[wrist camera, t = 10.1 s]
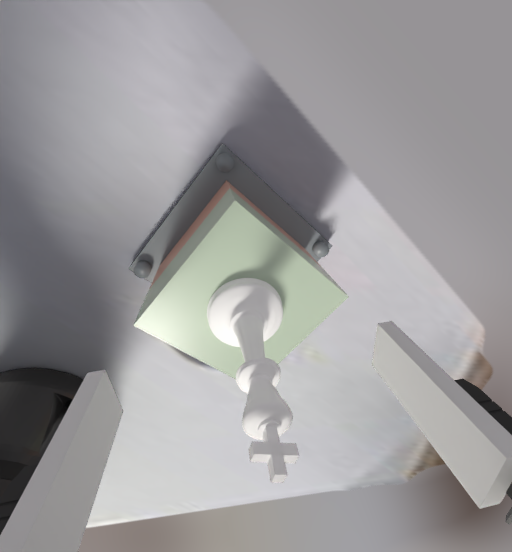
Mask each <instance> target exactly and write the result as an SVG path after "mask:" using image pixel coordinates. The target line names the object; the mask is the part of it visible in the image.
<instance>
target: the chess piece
mask: <svg viewBox="0 0 512 552" xmlns="http://www.w3.org/2000/svg"><path fill="white" fill-rule="evenodd" d="M282 318H283V307H282V301H281V298H280V296H279V294H278V292H277V291H276V290H275V289H274V288H273V287H272V286H271V285H270V284H268V283H267V282H265V281H262V280H259V279H255V278H240V279H235V280H232V281H230V282H227V283H226V284H224V285H222V286H221V287H220V288H219V289H217V290H216V291H215V293H214V294H213V295H212V297H211V298H210V301H209V303H208V306H207V319H208V323H209V326H210V329H211V331H212V332H213V334H214V335H215V336H216V337H217V338H218V339H219V340H220V341H222V342H224V343H226V344H228V345H231V346H235V347H240V348H241V351H242V354H243V357H244V361H245V363H243V364H242V365H241V366H240V367H239V369H238V370H237V372H236V382H237V384H238V386H239V388H240V389H241V390H242V391H244V392H245V393H248V395H247V402H246V407H245V409H244V413H243V418H242V427H243V430H244V431H245V433H246V434H247V435H248V436H250V437H252V438H254V439H258V440H264V442H253V441H252V443H251V445H250V447H249V456H250V462H263V463H268V469H269V474H270V480H271V483H283V482H284V480H285V479H286V477H287V475H288V474H287V470H286V466H285V463H296V461H297V459H298V458H299V452H298V449H297V445H296V444H294V443H280V440H279V436H280V435H282V434H283V433H284V432H286V431H287V430H288V428H289V427H290V425H291V423H292V419H293V416H292V412H291V410H290V408H289V406H288V405H287V403H286V402H285V401H284V400H283V399H282V397H281V396H280V395H279V393H278V391H277V390H276V388H275V387H276V386H277V384H278V382H279V380H280V373H281V371H280V367H279V365H278V364H277V363H276V362H275V361H273V360H272V359H269V358H265V352H264V341H266V340H268V339H269V338H270V337H272V336H273V335H274V334H275V332H276V331H277V330H278V328H279V327H280V325H281V322H282Z"/></svg>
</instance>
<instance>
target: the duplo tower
mask: <svg viewBox="0 0 512 552" xmlns="http://www.w3.org/2000/svg"><path fill="white" fill-rule="evenodd" d="M331 247H332V245H331V244H330V243H329V242H328V241H327V240H326V239H325V238H323V237H322V236H321V235H320V234H319V233H318V232H317V231H316V230H315V229H314V228H313V227H312V226H311V225H310V224H308V223H307V222H306V221H305V220H304V219H303V218H302V217H301V216H300V215H299V214H298V213H297V212H296V211H295V210H293V209H292V208H291V207H290V206H289V205H288V204H287V203H286V202H285V201H284V200H283V199H282V198H281V197H279V196H278V195H277V194H276V193H275V192H274V191H273V190H272V189H271V188H270V187H269V186H268V185H267V184H266V183H264V182H263V181H262V180H261V179H260V178H259V177H258V176H257V175H256V174H255V173H254V172H253V171H252V170H251V169H249V168H248V167H247V166H246V165H245V164H244V163H243V162H242V161H241V160H240V159H239V158H238V157H237V156H236V155H234V154H233V153H232V152H231V151H230V150H229V149H228V148H227V147H226V146H225V145H224V144H223V143H222V144H221V146H220V147H219V148H218V150H217V151H216V152H215V154H214V155H213V156H212V158H211V159H210V160H209V162H208V163H207V164H206V166H205V167H204V168H203V170H202V171H201V172H200V174H199V175H198V176H197V178H196V179H195V180H194V182H193V183H192V184H191V186H190V187H189V188H188V190H187V191H186V192H185V194H184V195H183V196H182V198H181V199H180V200H179V202H178V203H177V204H176V206H175V207H174V208H173V210H172V211H171V212H170V214H169V215H168V216H167V218H166V219H165V220H164V222H163V223H162V224H161V226H160V227H159V228H158V230H157V231H156V232H155V234H154V235H153V236H152V238H151V239H150V240H149V242H148V243H147V244H146V246H145V247H144V248H143V250H142V251H141V252H140V254H139V255H138V256H137V258H136V259H135V260H134V262H133V263H132V264H131V266H130V267H129V270H131V271H133V272H134V273H135V275H136V276H137V277H139V278H144V279H146V280H147V281H149V282H151V283H152V284H151V286H150V289H149V291H148V293H147V295H146V298H145V300H144V302H143V305H142V307H141V309H140V312H139V314H138V316H137V318H136V321H135V323H134V325H133V326H135V327H137V328H139V329H141V330H143V331H145V332H146V333H148V334H150V335H152V336H154V337H156V338H158V339H160V340H162V341H164V342H166V343H167V344H169V345H171V346H173V347H175V348H177V349H179V350H181V351H183V352H185V353H187V354H188V355H190V356H192V357H194V358H196V359H198V360H200V361H202V362H204V363H206V364H208V365H209V366H211V367H213V368H215V369H217V370H219V371H221V372H223V373H225V374H227V375H229V376H230V377H232V378H234V379H236V372H237V370H238V369H239V367H240V366H241V365H242V364H243V363H245V361H244V357H243V354H242V351H241V348H240V347H235V346H231V345H228V344H226V343H224V342H222V341H220V340H219V339H218V338H217V337H216V336H215V335H214V334H213V332H212V331H211V329H210V326H209V323H208V319H207V306H208V303H209V301H210V298H211V297H212V295H213V294H214V293H215V291H216V290H217V289H219V288H220V287H221V286H222V285H224V284H226V283H227V282H230V281H232V280H235V279H240V278H255V279H259V280H262V281H265V282H267V283H268V284H270V285H271V286H272V287H273V288H274V289H275V290H276V291H277V292H278V294H279V296H280V298H281V301H282V307H283V318H282V322H281V325H280V327H279V328H278V330H277V331H276V332H275V334H274V335H273V336H272V337H270V338H269V339H268V340H266V341H264V352H265V358H269V359H272V360H273V361H275V362H276V363H277V364H279V363H280V362H281V361H282V360H283V359H284V358H285V357H286V356H287V355H288V354H289V353H290V352H291V351H292V350H293V349H294V348H295V347H297V346H298V345H299V344H300V343H301V342H302V341H303V340H304V339H305V338H306V337H307V336H308V335H309V334H310V333H311V332H312V331H313V330H314V329H315V328H316V327H318V326H319V325H320V324H321V323H322V322H323V321H324V320H325V319H326V318H327V317H328V316H329V315H330V314H331V313H332V312H333V311H334V310H335V309H336V308H337V307H339V306H340V305H341V304H342V303H343V302H344V301H345V300H346V299H347V298H348V296H347V294H346V293H345V292H344V291H343V290H342V289H341V288H340V287H339V286H338V285H337V283H336V282H335V281H334V280H333V279H332V278H331V277H330V276H329V275H328V274H327V272H326V271H325V270H324V269H323V268H322V267H321V266H320V265H319V264H318V263H317V261H318V260H319V259H320V258H321V257H324V256H326V255H327V254H328V252H329V249H330V248H331Z"/></svg>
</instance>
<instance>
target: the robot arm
mask: <svg viewBox="0 0 512 552" xmlns="http://www.w3.org/2000/svg"><path fill="white" fill-rule="evenodd" d="M372 366H373V367H374V369H375V370H376V371H377V373H378V374H379V375H380V377H381V378H382V379H383V381H384V382H385V383H386V385H387V386H388V387H389V389H390V390H391V391H392V393H393V394H394V395H395V397H396V398H397V399H398V401H399V402H400V403H401V405H402V406H403V407H404V409H405V410H406V411H407V413H408V414H409V415H410V417H411V418H412V419H413V421H414V422H415V423H416V425H417V426H418V427H419V429H420V430H421V431H422V433H423V434H424V435H425V437H426V438H427V439H428V441H429V442H430V443H431V445H432V446H433V447H434V449H435V450H436V451H437V453H438V454H439V455H440V457H441V458H442V459H443V461H444V462H445V463H446V465H447V466H448V467H449V469H450V470H451V471H452V472H453V474H454V475H455V477H456V478H457V479H458V480H459V482H460V483H461V485H462V486H463V487H464V489H465V490H466V491H467V493H468V494H469V495H470V497H471V498H472V499H473V500H474V502H475V503H476V504H477V506H478V507H479V508H484V507H487V506H492V505H496V504H499V503H501V501H502V500H503V498H504V496H505V494H506V493H507V494H508V496H509V497H510V498H511V499H512V417H511V416H509V415H508V414H507V413H506V412H505V411H503V410H502V408H501V407H499V406H498V405H497V404H496V403H495V402H492V400H491V399H490V398H489V397H488V396H487V395H486V394H485V393H484V392H483V391H482V390H480V389H479V388H478V387H476V386H475V385H473V384H471V383H469V382H468V381H466V380H464V379H459V380H453V379H452V378H451V377H450V376H449V375H448V374H447V373H446V372H445V371H444V370H443V369H442V368H440V367H439V366H438V365H437V364H436V363H435V362H434V361H433V360H432V359H431V358H430V357H429V356H428V355H427V354H426V353H425V352H424V351H423V350H422V349H420V348H419V347H418V346H417V345H416V344H415V343H414V342H413V341H412V340H411V339H410V338H409V337H408V336H407V335H406V334H405V333H404V332H403V331H402V330H400V329H399V328H398V327H397V326H396V325H395V324H394V323H393V322H392V321H390V322H384V323H378V324H377V331H376V338H375V345H374V352H373V359H372ZM122 413H123V409H122V407H121V405H120V402H119V400H118V398H117V395H116V393H115V391H114V388H113V386H112V384H111V382H110V379H109V377H108V375H107V372H106V370H100V371H94V372H88V373H87V374H86V376H85V378H84V380H82V379H80V378H78V377H76V376H73V375H70V374H67V373H64V372H60V371H55V370H49V369H38V368H27V369H16V370H11V371H6V372H3V373H0V552H78V550H79V547H80V543H81V540H82V537H83V534H84V531H85V528H86V525H87V522H88V519H89V516H90V512H91V509H92V506H93V503H94V500H95V497H96V494H97V491H98V488H99V485H100V481H101V478H102V475H103V472H104V469H105V466H106V463H107V460H108V457H109V454H110V450H111V447H112V444H113V441H114V438H115V435H116V432H117V429H118V426H119V423H120V419H121V416H122ZM511 522H512V508H511V509H510V511H509V512H508V514H507V515H506V523H508V524H511Z"/></svg>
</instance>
